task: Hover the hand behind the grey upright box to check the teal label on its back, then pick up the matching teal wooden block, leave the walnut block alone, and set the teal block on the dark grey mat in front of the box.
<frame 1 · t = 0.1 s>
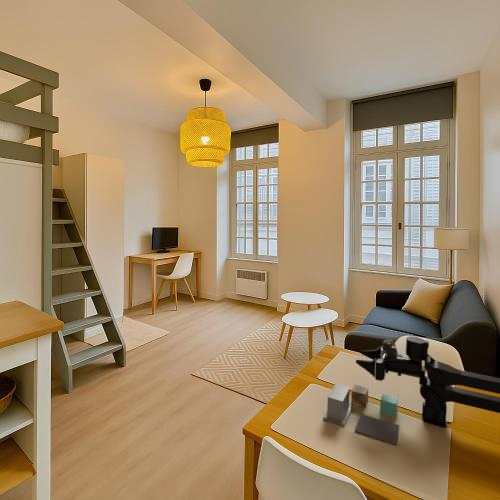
hand: (358, 356, 118), 16 cm above the table, tool horizontal, fingers open, 9 cm apart
walnut block: (359, 402, 117), on the table
dark grey mat: (377, 429, 102), on the table
teal block: (388, 412, 111), on the table
grey upright box: (338, 413, 110), on the table
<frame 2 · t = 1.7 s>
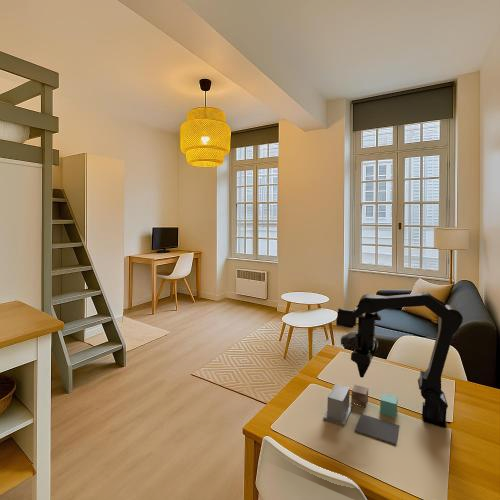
hand: (364, 371, 115), 12 cm above the table, tool pointing down, fingers open, 9 cm apart
nothing on the table moved.
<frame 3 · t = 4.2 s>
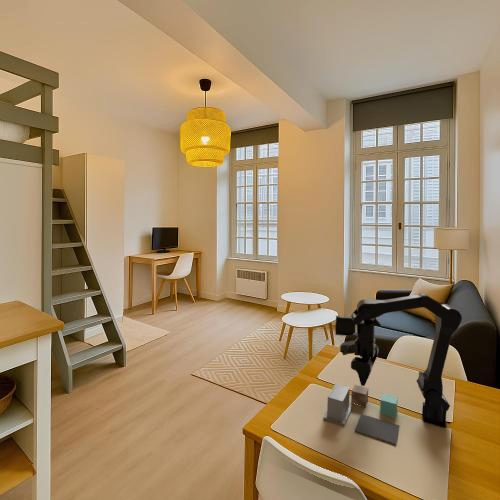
hand: (365, 379, 112), 11 cm above the table, tool pointing down, fingers open, 9 cm apart
nothing on the table moved.
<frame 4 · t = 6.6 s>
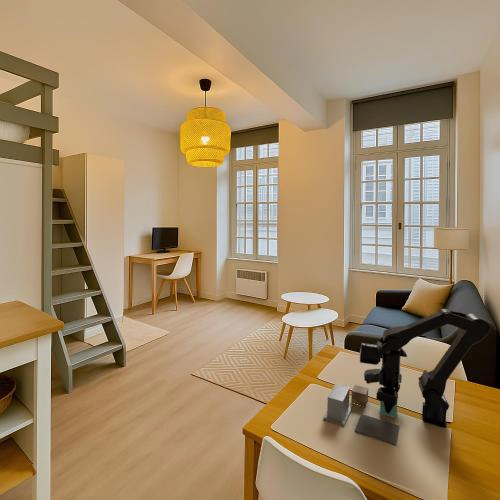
hand: (388, 408, 111), 1 cm above the table, tool pointing down, fingers closed on teal block, 5 cm apart
teal block: (388, 411, 111), on the table, touching gripper
everything else where it was.
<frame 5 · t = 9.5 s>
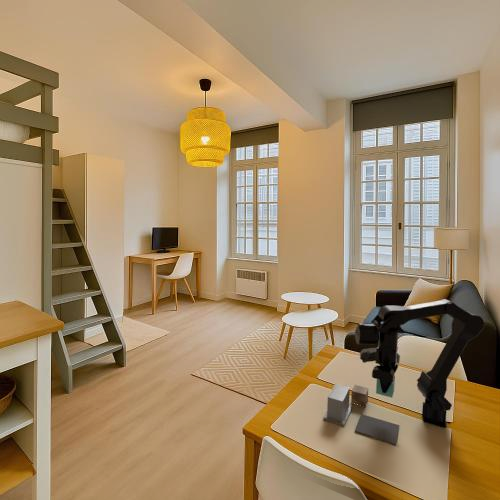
hand: (385, 389, 107), 10 cm above the table, tool pointing down, fingers closed on teal block, 5 cm apart
teal block: (385, 392, 107), point 9 cm above the table, touching gripper
everything else where it was.
when the fingers open (3 cm above the table, at t = 12.6 s): teal block drops 1 cm, resting on dark grey mat.
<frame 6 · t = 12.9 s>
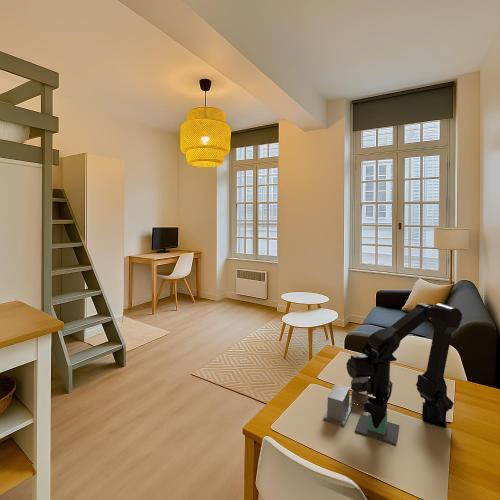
hand: (377, 420, 102), 3 cm above the table, tool pointing down, fingers open, 8 cm apart
teal block: (377, 427, 102), resting on dark grey mat
everything else where it was.
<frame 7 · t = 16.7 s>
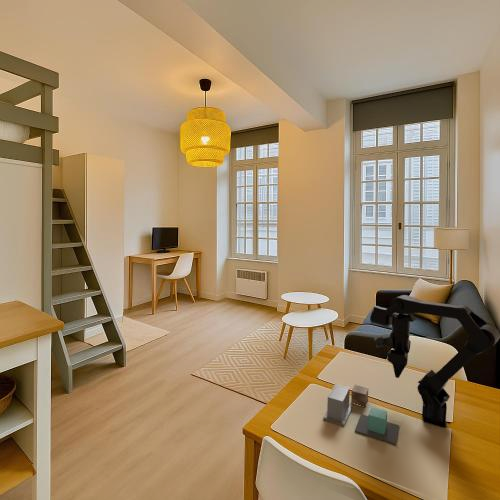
hand: (398, 372, 115), 12 cm above the table, tool pointing down, fingers open, 9 cm apart
nothing on the table moved.
at the end: teal block inside the target area on the dark grey mat (0.0 cm from its centre), point 0.5 cm above the dark grey mat's base; the gripper is holding nothing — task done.
